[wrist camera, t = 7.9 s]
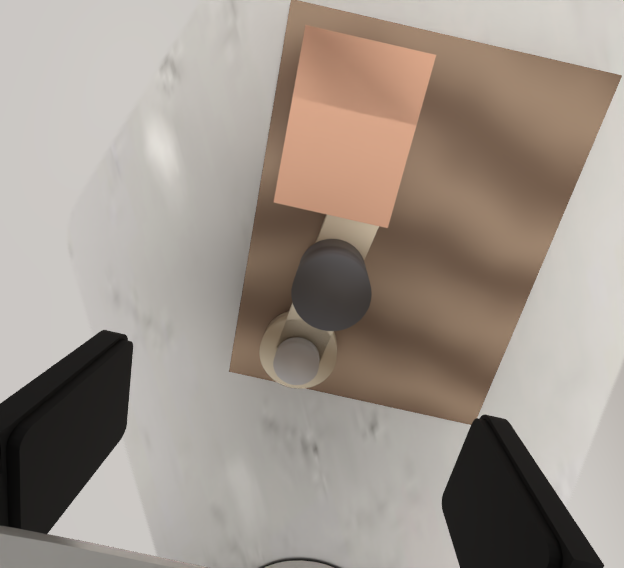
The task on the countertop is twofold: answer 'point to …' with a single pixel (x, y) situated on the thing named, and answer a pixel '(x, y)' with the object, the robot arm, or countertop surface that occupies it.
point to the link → (324, 295)
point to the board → (432, 221)
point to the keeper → (351, 125)
